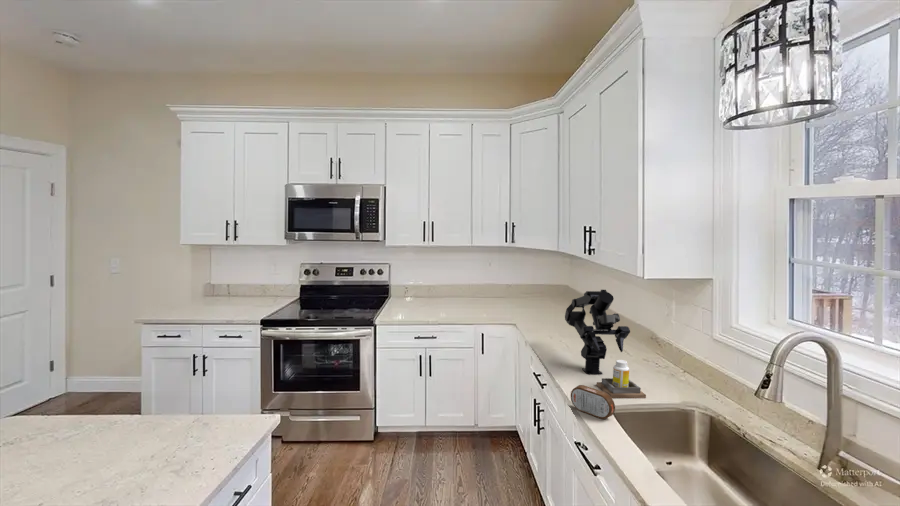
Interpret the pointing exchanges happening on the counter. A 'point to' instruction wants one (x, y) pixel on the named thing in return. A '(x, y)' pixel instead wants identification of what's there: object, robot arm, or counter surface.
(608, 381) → the collar base
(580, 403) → the tin
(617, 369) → the supplement bottle
